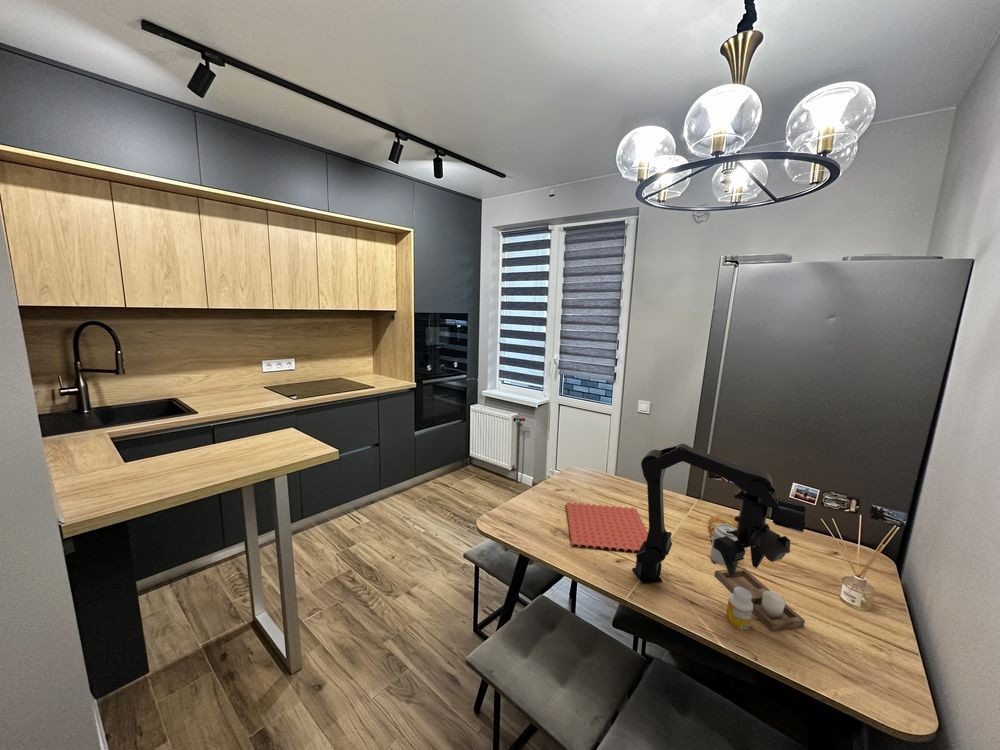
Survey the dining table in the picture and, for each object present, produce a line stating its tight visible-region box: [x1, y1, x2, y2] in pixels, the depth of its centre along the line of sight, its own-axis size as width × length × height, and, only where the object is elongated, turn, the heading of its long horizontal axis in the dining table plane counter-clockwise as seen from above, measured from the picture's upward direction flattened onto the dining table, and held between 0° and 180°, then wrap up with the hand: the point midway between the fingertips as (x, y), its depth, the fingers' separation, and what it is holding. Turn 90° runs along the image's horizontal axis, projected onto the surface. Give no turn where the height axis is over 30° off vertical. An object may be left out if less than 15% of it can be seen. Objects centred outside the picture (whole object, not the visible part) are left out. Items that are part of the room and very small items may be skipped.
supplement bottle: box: [725, 587, 753, 630], centre depth 99 cm, size 5×5×10 cm
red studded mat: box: [565, 501, 648, 554], centre depth 142 cm, size 28×28×2 cm
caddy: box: [714, 567, 806, 632], centre depth 108 cm, size 10×20×3 cm, turn 10°
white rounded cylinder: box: [760, 590, 786, 620], centre depth 102 cm, size 5×5×5 cm
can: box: [709, 524, 738, 567], centre depth 124 cm, size 8×8×12 cm
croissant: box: [707, 514, 738, 542], centre depth 141 cm, size 21×10×8 cm, turn 135°
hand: (743, 570), depth 102 cm, fingers open, 9 cm apart
